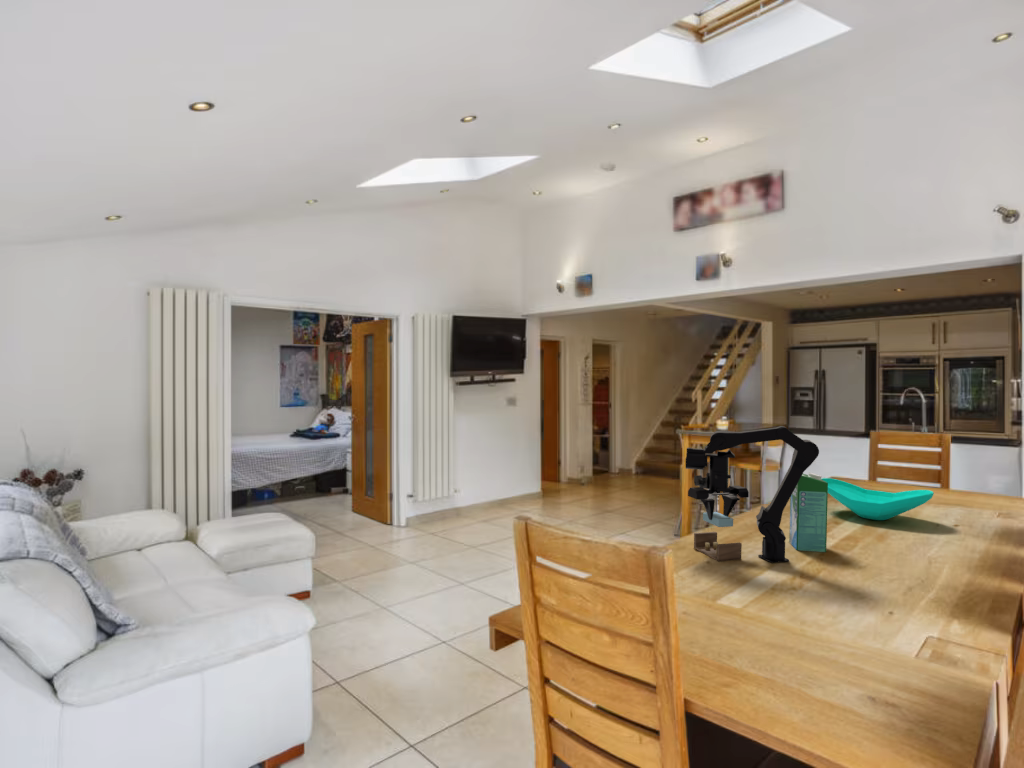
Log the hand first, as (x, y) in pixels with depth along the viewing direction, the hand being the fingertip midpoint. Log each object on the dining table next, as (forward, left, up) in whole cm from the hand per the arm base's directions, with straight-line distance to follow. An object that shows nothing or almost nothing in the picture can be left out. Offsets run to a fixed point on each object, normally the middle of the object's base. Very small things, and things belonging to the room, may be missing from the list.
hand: (717, 519), depth 186 cm
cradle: (0, 0, -11) cm, 11 cm away
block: (0, 0, -1) cm, 1 cm away
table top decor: (+25, -90, -11) cm, 94 cm away
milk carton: (-1, -34, -11) cm, 36 cm away
